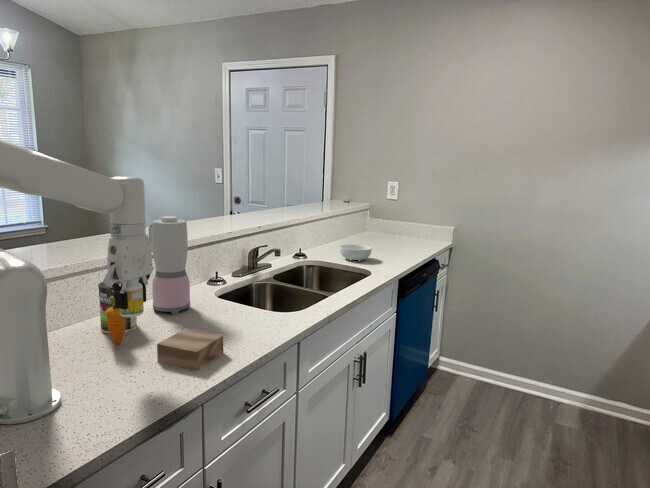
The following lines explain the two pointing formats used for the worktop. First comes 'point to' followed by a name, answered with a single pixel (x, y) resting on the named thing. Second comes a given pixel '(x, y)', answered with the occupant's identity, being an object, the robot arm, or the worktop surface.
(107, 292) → the food can
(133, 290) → the supplement bottle
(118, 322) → the carrot
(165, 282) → the blender
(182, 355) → the brown cardboard box
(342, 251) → the cereal bowl
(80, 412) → the worktop surface
